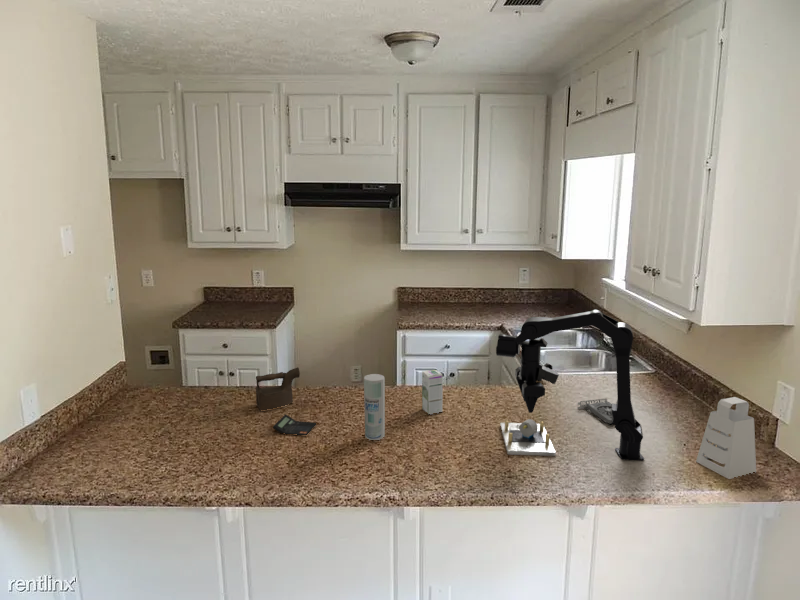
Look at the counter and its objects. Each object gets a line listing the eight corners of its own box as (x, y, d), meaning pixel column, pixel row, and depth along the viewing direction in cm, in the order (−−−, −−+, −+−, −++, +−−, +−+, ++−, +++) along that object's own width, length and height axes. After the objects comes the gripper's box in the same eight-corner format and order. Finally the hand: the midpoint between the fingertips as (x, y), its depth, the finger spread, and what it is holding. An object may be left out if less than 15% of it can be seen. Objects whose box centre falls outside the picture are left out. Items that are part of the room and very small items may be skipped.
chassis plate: (555, 455, 159) (556, 442, 158) (507, 454, 160) (508, 441, 159) (542, 427, 178) (543, 415, 177) (500, 425, 179) (500, 414, 178)
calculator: (306, 437, 172) (306, 428, 171) (272, 434, 174) (272, 425, 173) (316, 425, 181) (316, 416, 180) (284, 422, 183) (284, 414, 182)
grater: (695, 461, 155) (703, 396, 151) (722, 455, 159) (730, 391, 155) (729, 479, 146) (737, 410, 142) (756, 472, 149) (765, 404, 145)
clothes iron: (302, 405, 197) (301, 371, 194) (258, 412, 191) (256, 376, 188) (297, 398, 204) (296, 364, 201) (255, 404, 198) (253, 369, 195)
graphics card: (576, 400, 194) (606, 397, 196) (575, 409, 194) (606, 406, 196) (601, 419, 177) (634, 416, 180) (601, 430, 178) (633, 426, 180)
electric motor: (513, 436, 169) (514, 421, 168) (521, 431, 172) (521, 416, 171) (533, 442, 164) (534, 427, 163) (540, 437, 168) (541, 422, 167)
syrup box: (443, 412, 190) (443, 373, 187) (427, 415, 188) (428, 375, 185) (436, 406, 195) (436, 368, 192) (421, 409, 193) (421, 370, 190)
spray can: (387, 433, 174) (387, 374, 170) (381, 442, 167) (380, 381, 164) (368, 431, 175) (367, 373, 171) (361, 439, 169) (360, 379, 165)
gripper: (564, 369, 154) (561, 419, 158) (550, 350, 173) (548, 396, 176) (525, 368, 155) (522, 418, 158) (516, 350, 174) (514, 395, 177)
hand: (528, 406), depth 167 cm, fingers open, 9 cm apart
